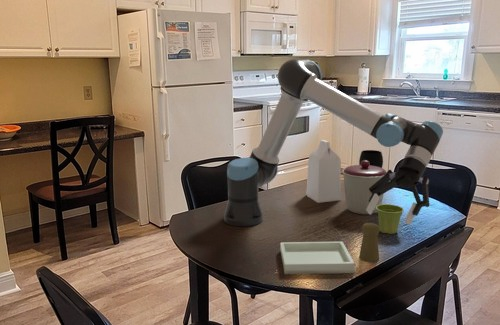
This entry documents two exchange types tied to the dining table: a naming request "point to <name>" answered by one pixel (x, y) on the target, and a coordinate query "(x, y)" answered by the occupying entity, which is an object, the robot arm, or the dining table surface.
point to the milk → (324, 174)
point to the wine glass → (372, 157)
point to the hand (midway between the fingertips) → (387, 217)
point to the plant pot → (389, 217)
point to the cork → (369, 243)
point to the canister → (361, 186)
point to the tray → (316, 258)
